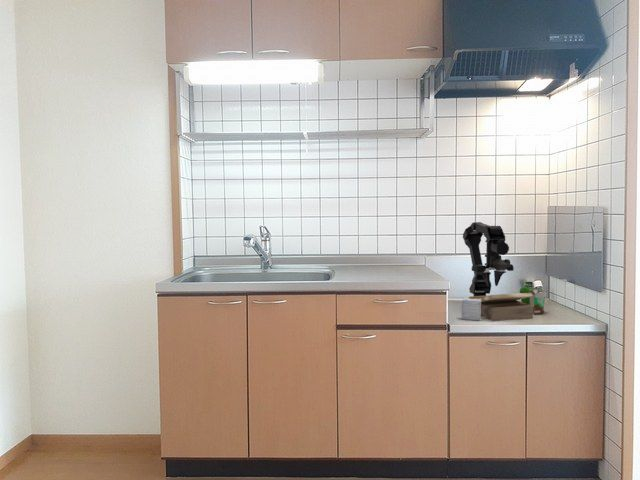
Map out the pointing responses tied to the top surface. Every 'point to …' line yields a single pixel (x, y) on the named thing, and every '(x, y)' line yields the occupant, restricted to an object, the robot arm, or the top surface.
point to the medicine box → (471, 309)
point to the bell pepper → (526, 290)
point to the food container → (537, 300)
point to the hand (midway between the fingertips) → (492, 286)
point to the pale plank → (505, 297)
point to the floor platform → (505, 310)
